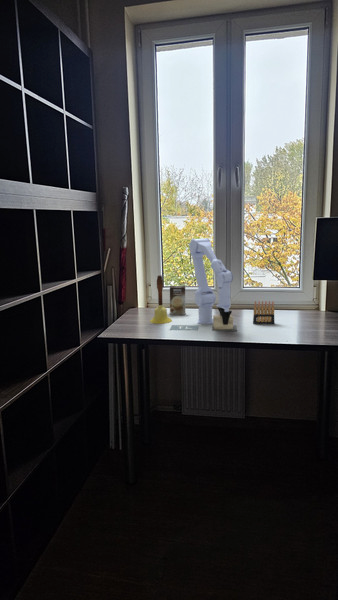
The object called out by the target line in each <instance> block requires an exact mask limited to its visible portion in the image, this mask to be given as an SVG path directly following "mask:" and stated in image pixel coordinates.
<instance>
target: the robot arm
mask: <svg viewBox="0 0 338 600" xmlns="http://www.w3.org/2000/svg"><path fill="white" fill-rule="evenodd" d="M188 246H189V252H190V256H191V257H192V263H193V267H194V272H195V278H196V283H197V290H195V292H194V302H195V304H196V306H197V307H198V318H197V324H198V325H199V324H201V325H202V324H205V325H206V324H207V325H213V306H214V304H215V303H216V294H215V293H214V290H213V288H211V287H210V286H209V283H208V277H207V273H206V269H205V264H204V256H205V257H206V258H207V259H208V260H209V262H210V263H211V264H210V268H211V269H212V270H213V273H214V274H215V276H216V277H215V280H216V283H217V287H218V304H216V308H217V309H218V312H219V315H222V321H223V325H228V321H229V317H230V315H232V310H230V308H231V306H232V304H231V285H232V284H231V283H232V282H233V280H234V274H233V272H232V271H231V270H228V269H227V268H226V266H225V265H224V263H223V261H222V260H221V259H218V258H217V256H216V254H215V252H214V250H213V248H212V242H211V239H210V238H208V237H205V238H192V239H191V240H190V242H189V245H188Z"/></svg>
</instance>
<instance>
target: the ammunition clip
mask: <svg viewBox="0 0 338 600" xmlns="http://www.w3.org/2000/svg"><path fill="white" fill-rule="evenodd" d="M252 319H253V320H252V324H253V325H275V324H276V322H275V302H274V300H272V301H270V300H268V302H267V300H265V301H264V300H261V302H260V301H259V300H258V302H257V301H256V300H255V301H254V304H253V318H252Z"/></svg>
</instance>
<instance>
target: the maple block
mask: <svg viewBox="0 0 338 600" xmlns="http://www.w3.org/2000/svg"><path fill="white" fill-rule="evenodd" d="M212 319H213V324H212V327H214V329H215V330H216V329H233V325H234V316H233V315H232V314H230V317H229V321H228V325H223V321H222V315H220V314H217V315H215V314H214V315H213V314H212Z"/></svg>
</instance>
